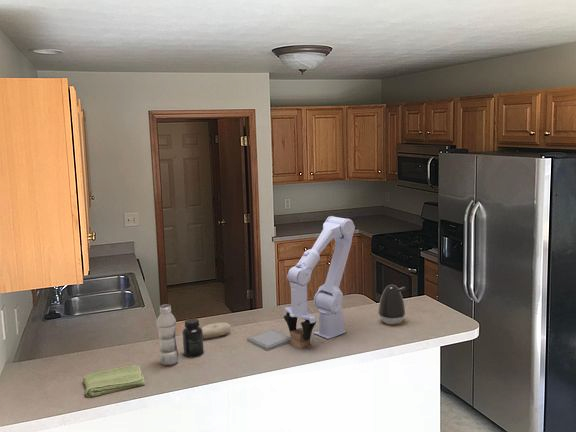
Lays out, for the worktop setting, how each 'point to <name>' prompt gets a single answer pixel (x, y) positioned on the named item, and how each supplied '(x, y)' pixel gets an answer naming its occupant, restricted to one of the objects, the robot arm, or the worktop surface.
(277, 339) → the grey framed panel
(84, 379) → the washcloth
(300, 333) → the cube
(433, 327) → the worktop surface
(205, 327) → the stone
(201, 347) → the supplement bottle
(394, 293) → the pump dispenser
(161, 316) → the plastic bottle
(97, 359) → the worktop surface
